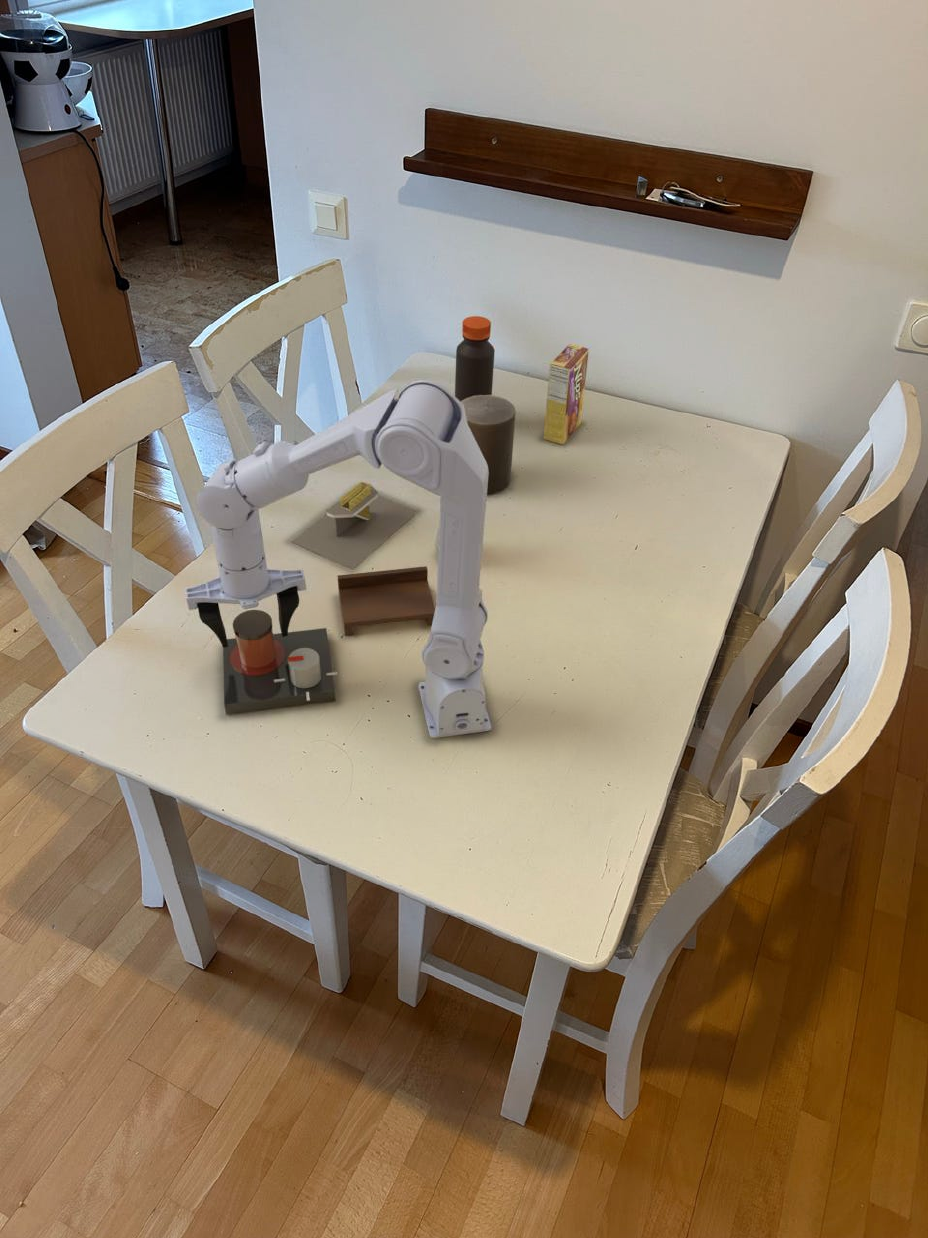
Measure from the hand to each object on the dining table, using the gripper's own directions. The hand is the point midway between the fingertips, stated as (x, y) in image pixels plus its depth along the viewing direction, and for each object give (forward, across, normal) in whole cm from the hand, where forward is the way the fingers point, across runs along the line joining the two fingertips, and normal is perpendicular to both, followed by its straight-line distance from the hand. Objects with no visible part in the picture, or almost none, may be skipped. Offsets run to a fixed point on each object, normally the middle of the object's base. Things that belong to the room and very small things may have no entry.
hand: (254, 636), depth 120 cm
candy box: (+6, +62, +46) cm, 78 cm away
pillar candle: (+6, +43, +35) cm, 56 cm away
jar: (+3, 0, 0) cm, 4 cm away
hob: (+6, +2, -2) cm, 6 cm away
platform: (+6, +19, +27) cm, 34 cm away
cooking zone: (+4, 0, 0) cm, 4 cm away
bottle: (+6, +47, +52) cm, 71 cm away
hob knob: (+4, +5, -6) cm, 9 cm away
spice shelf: (+6, +19, +6) cm, 21 cm away
